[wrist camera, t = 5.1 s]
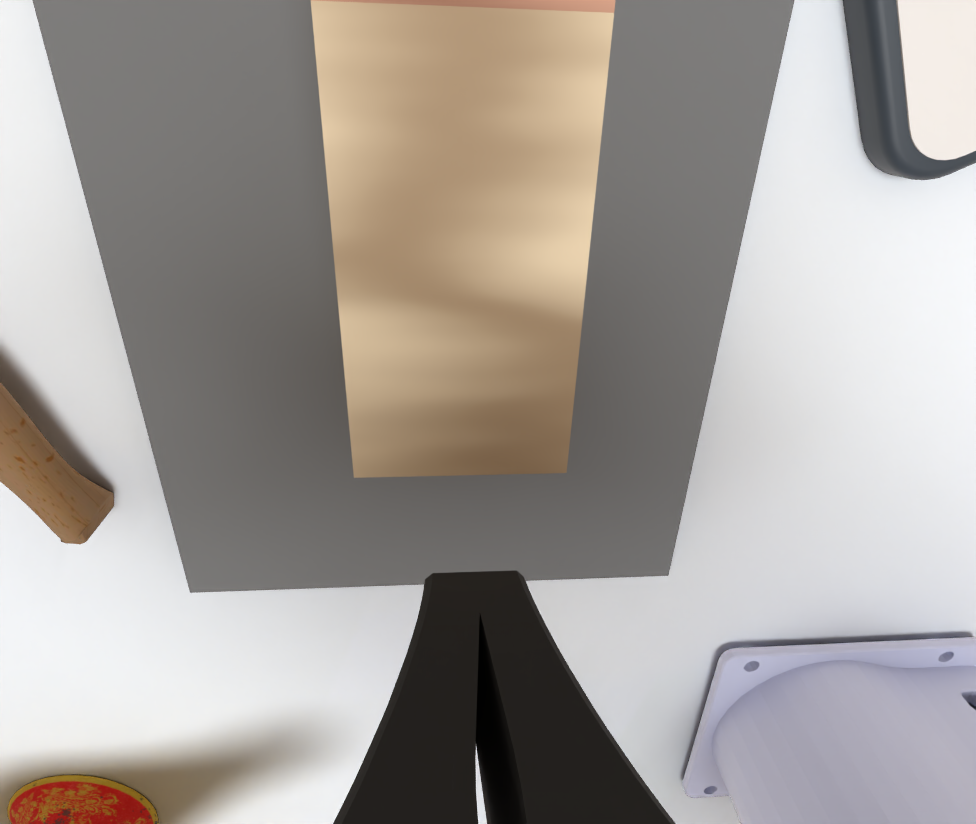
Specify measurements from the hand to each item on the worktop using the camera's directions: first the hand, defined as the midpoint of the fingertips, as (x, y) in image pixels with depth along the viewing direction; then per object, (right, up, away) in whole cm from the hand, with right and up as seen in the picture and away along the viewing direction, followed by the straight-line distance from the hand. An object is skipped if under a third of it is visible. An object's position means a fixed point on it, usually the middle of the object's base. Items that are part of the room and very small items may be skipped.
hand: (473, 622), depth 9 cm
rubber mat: (-1, +5, +6) cm, 8 cm away
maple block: (0, +3, +4) cm, 5 cm away
